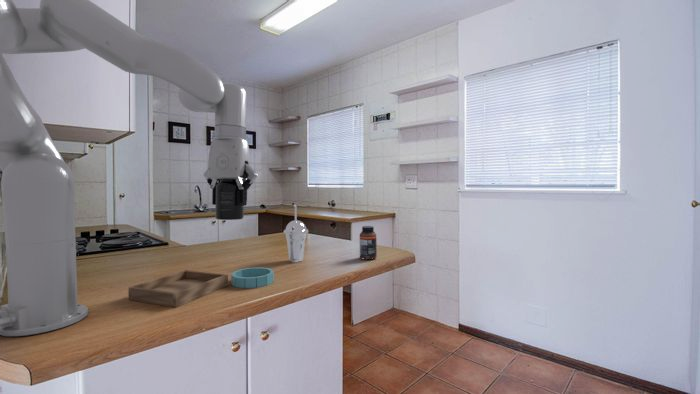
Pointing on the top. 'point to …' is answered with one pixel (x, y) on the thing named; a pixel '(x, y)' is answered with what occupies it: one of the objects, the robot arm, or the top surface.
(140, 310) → the top surface
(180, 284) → the tray
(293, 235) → the cup with straw
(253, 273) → the holder ring
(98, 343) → the top surface
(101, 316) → the top surface
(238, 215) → the supplement bottle
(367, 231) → the supplement bottle
